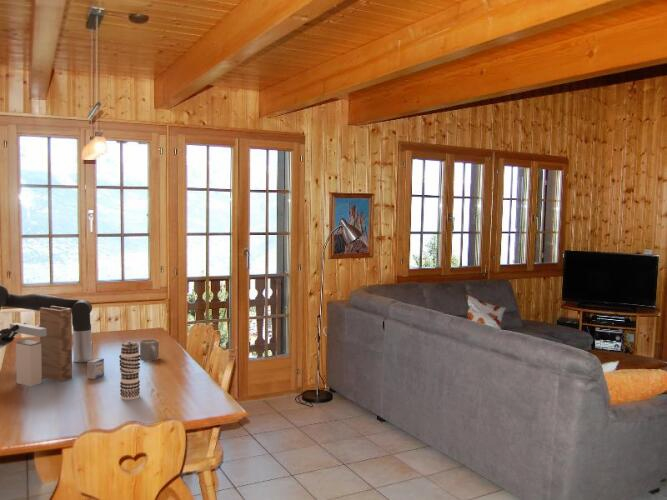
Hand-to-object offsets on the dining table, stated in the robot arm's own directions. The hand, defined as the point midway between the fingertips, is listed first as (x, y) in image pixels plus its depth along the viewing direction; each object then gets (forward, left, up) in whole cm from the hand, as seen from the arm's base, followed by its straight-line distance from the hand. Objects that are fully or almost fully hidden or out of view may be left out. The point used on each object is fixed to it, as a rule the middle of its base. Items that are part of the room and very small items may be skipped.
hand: (21, 325), depth 291 cm
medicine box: (-24, +23, -28) cm, 43 cm away
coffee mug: (-63, +22, -28) cm, 72 cm away
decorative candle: (-10, +60, -28) cm, 67 cm away
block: (0, +5, -28) cm, 28 cm away
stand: (-13, +8, -28) cm, 31 cm away
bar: (0, +4, -3) cm, 5 cm away
